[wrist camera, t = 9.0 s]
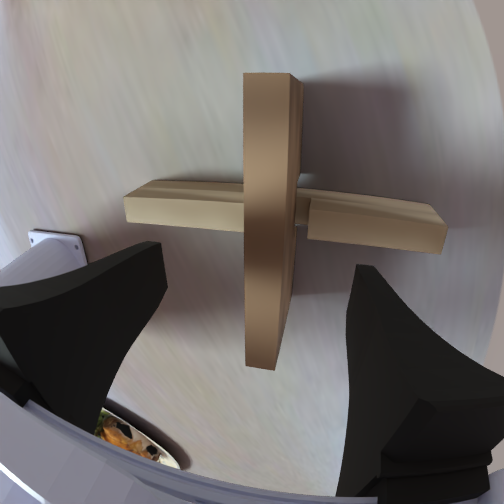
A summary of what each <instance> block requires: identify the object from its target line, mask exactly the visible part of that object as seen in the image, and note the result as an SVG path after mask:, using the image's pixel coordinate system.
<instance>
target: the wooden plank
mask: <svg viewBox="0 0 504 504" xmlns="http://www.w3.org/2000/svg"><path fill="white" fill-rule="evenodd" d="M302 122H303V83H301V82H300V81H299V80H298V79H296V78H295V77H294V76H293V75H291V74H290V73H243V168H244V291H245V362H246V366H249V367H255V368H261V369H267V370H274V371H275V367H276V363H277V359H278V354H279V350H280V346H281V341H282V337H283V332H284V328H285V323H286V319H287V314H288V310H289V305H290V300H291V295H292V284H293V272H294V260H295V248H296V234H297V227H295V213H296V196H297V182H298V179H299V176H300V169H301V148H302Z"/></svg>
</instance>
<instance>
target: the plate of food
mask: <svg viewBox="0 0 504 504" xmlns="http://www.w3.org/2000/svg"><path fill="white" fill-rule="evenodd" d="M109 414H112V415H114V416H111V415H109ZM115 416H116V417H118V418H116V417H115ZM120 419H121V420H120ZM94 436H96V437H98V438H100V439H102V440H104V441H107V442H109V443H111V444H113V445H115V446H118V447H120V448H122V449H125V450H127V451H130V452H132V453H135V454H137V455H140V456H142V457H145V458H148V459H150V460H153V461H156V462H159V463H161V464H164V465H167V466H170V467H173V468H177V469H180V467H179V465H178V463H177V462H176V460H175V459H174V458H173V457H172V456H171V455H170V454H169V453H168V452H166V451H165V450H164V449H163V448H162V447H160V446H159V445H158V444H157V443H155V442H154V441H152V440H151V439H150V438H149V437H147V436H146V435H144V434H143V433H141V432H140V431H138V430H137V429H135V428H134V427H133V426H131V425H130V424H129V423H128V422H127V421H125V420H124V419H122V418H120V417H119V416H117V415H115V414H114V413H112V412H110V411H108V410H106V409H104V408H102V410H101V413H100V416H99V420H98V423H97V426H96V430H95V433H94ZM160 454H161V456H160ZM159 456H160V457H159Z"/></svg>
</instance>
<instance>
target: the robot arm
mask: <svg viewBox="0 0 504 504" xmlns="http://www.w3.org/2000/svg"><path fill="white" fill-rule="evenodd" d="M28 236H29V240H30V243H31V246H32V247H31V248H30V249H29V250H27V251H26V252H24V253H23V254H22V255H20V256H19V257H18V258H16V259H15V260H13V261H12V262H11V263H9V264H8V265H7V266H5V267H4V268H3V269H2V270H0V504H193V503H195V504H504V469H501V470H498V471H495V472H493V473H491V474H489V475H488V470H487V466H488V465H490V464H491V463H492V454H491V450H492V449H493V448H494V447H495V446H496V445H497V444H498V443H499V442H500V441H501V440H503V438H504V377H503V376H501V375H499V374H497V373H495V372H493V371H491V370H489V369H487V368H485V367H483V366H482V365H480V364H478V363H477V362H475V361H474V360H472V359H470V358H469V357H467V356H466V355H464V354H463V353H461V352H460V351H458V350H457V349H455V348H454V347H453V346H451V345H450V344H449V343H447V342H446V341H445V340H443V339H442V338H441V337H440V336H439V335H437V334H436V333H435V332H434V331H433V330H432V329H430V328H429V327H428V326H427V325H426V324H425V323H424V322H423V321H422V320H421V319H420V318H419V317H418V316H417V315H416V314H415V313H414V312H413V311H412V310H411V309H410V308H409V307H408V306H407V305H406V304H405V303H404V302H403V301H402V299H401V298H400V297H399V296H398V295H397V294H396V292H395V291H394V290H393V289H392V288H391V286H390V285H389V284H388V283H387V282H386V280H385V279H384V278H383V277H382V275H381V274H380V273H379V272H378V270H377V269H376V268H375V267H374V266H368V265H359V264H357V265H356V270H355V275H354V280H353V285H352V289H351V294H350V299H349V303H348V308H347V314H346V346H347V359H348V373H349V409H348V420H347V430H346V438H345V446H344V453H343V459H342V466H341V471H340V477H339V482H338V487H337V491H336V496H335V497H330V496H314V495H303V494H293V493H285V492H278V491H271V490H264V489H258V488H253V487H247V486H242V485H237V484H233V483H228V482H224V481H220V480H216V479H212V478H208V477H204V476H200V475H197V474H193V473H190V472H186V471H183V470H180V469H177V468H173V467H170V466H167V465H164V464H161V463H159V462H156V461H153V460H150V459H148V458H145V457H142V456H140V455H137V454H135V453H132V452H130V451H127V450H125V449H122V448H120V447H118V446H115V445H113V444H111V443H109V442H107V441H104V440H102V439H100V438H98V437H96V436H94V433H95V430H96V426H97V423H98V420H99V416H100V413H101V410H102V408H103V405H104V402H105V399H106V397H107V394H108V392H109V389H110V387H111V385H112V382H113V380H114V378H115V376H116V373H117V371H118V369H119V367H120V365H121V363H122V361H123V359H124V357H125V355H126V354H127V352H128V351H129V349H130V347H131V346H132V344H133V343H134V341H135V340H136V338H137V337H138V336H139V334H140V333H141V331H142V330H143V328H144V327H145V325H146V324H147V323H148V321H149V320H150V318H151V317H152V315H153V314H154V312H155V311H156V309H157V308H158V306H159V304H160V302H161V300H162V298H163V296H164V294H165V292H166V290H167V288H168V286H167V280H166V273H165V267H164V261H163V254H162V247H161V243H160V242H150V241H146V242H142V243H139V244H136V245H134V246H131V247H129V248H126V249H124V250H121V251H119V252H117V253H114V254H112V255H110V256H107V257H105V258H103V259H100V260H98V261H95V262H93V263H91V264H87V260H86V256H85V253H84V249H83V245H82V241H81V239H80V237H79V236H77V235H68V234H60V233H52V232H43V231H35V230H31V231H29V232H28ZM184 500H185V501H184ZM187 501H188V502H187ZM190 502H192V503H190Z"/></svg>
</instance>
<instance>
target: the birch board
mask: <svg viewBox="0 0 504 504" xmlns="http://www.w3.org/2000/svg"><path fill="white" fill-rule="evenodd" d="M123 199H124V206H125V212H126V219H127V222H134V223H146V224H158V225H170V226H181V227H192V228H203V229H214V230H225V231H235V232H244V184H238V183H219V182H195V181H155V180H152V181H150V182H148V183H147V184H145V185H143V186H141V187H140V188H138V189H136V190H134V191H133V192H131V193H129V194H127V195H126V196H124V197H123ZM295 224H303V225H308V235H307V239H314V240H323V241H332V242H341V243H350V244H359V245H367V246H376V247H384V248H393V249H401V250H409V251H417V252H425V253H433V254H441V252H442V249H443V245H444V241H445V238H446V234H447V230H448V226H447V225H446V224H445V222H444V221H443V220H442V219H441V218H440V216H439V215H438V214H437V213H436V212H435V210H434V209H433V208H432V207H431V206H430V205H429V204H424V203H418V202H411V201H404V200H398V199H391V198H383V197H376V196H368V195H360V194H352V193H343V192H334V191H325V190H315V189H305V188H297V196H296V213H295Z"/></svg>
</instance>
